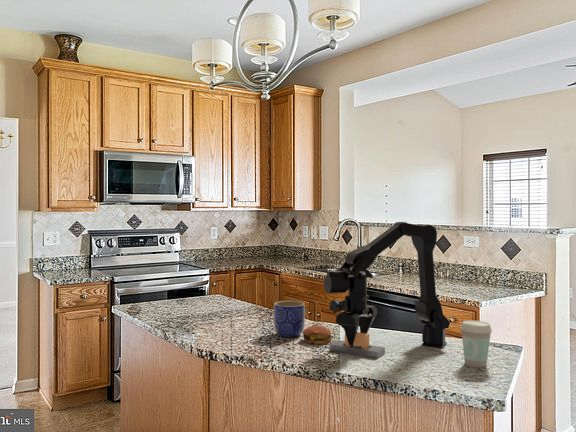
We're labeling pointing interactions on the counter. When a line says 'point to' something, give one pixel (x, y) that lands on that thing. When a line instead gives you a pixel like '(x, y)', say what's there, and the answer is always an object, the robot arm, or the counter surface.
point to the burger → (317, 335)
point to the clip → (359, 340)
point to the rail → (357, 349)
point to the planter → (289, 318)
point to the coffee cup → (475, 342)
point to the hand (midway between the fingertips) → (357, 341)
